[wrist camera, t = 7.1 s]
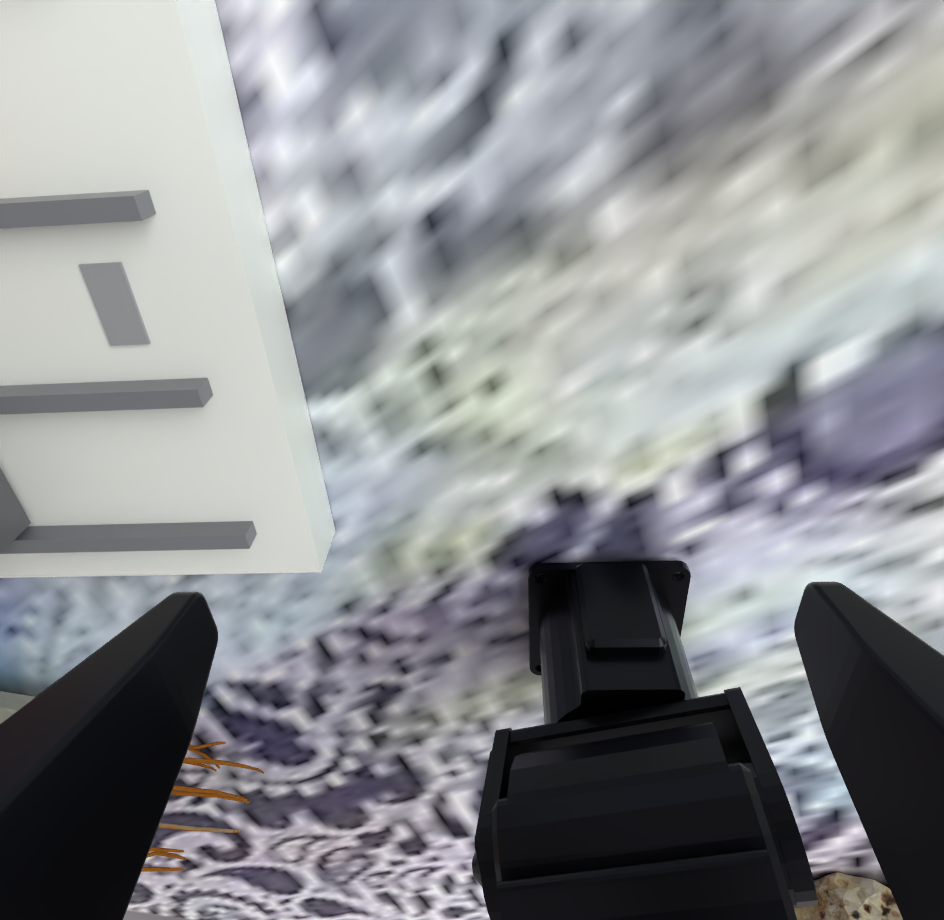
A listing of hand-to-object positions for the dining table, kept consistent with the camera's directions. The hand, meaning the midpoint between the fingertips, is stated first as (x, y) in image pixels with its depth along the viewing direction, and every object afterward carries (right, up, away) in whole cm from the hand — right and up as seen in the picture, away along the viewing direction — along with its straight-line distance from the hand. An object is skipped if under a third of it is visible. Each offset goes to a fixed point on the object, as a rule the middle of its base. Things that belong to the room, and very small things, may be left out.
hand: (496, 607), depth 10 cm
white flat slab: (-15, +10, +10) cm, 20 cm away
